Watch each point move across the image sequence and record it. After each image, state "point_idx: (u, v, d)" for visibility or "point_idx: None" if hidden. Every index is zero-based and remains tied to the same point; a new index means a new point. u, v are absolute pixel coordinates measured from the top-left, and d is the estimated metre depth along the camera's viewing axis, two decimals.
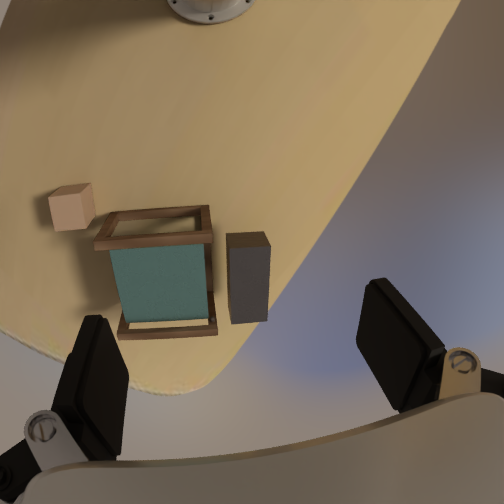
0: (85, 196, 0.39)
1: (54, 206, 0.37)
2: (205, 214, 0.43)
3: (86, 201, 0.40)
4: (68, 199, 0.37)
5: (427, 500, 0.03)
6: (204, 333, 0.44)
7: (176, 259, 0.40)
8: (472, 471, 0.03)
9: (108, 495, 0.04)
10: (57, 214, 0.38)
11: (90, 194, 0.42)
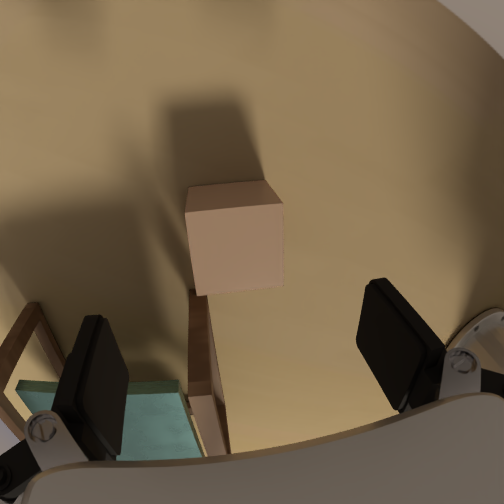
0: None
1: (256, 218, 0.17)
2: None
3: None
4: (271, 258, 0.18)
5: (427, 500, 0.03)
6: None
7: None
8: (472, 471, 0.03)
9: (108, 495, 0.04)
10: (235, 226, 0.17)
11: None
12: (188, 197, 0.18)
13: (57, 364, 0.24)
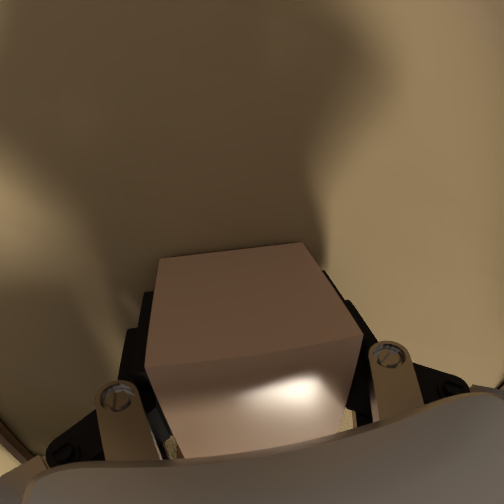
0: None
1: (304, 367, 0.07)
2: None
3: None
4: (323, 415, 0.08)
5: (427, 500, 0.03)
6: None
7: None
8: (472, 471, 0.03)
9: (108, 495, 0.04)
10: (259, 384, 0.07)
11: None
12: (156, 298, 0.09)
13: (18, 456, 0.15)
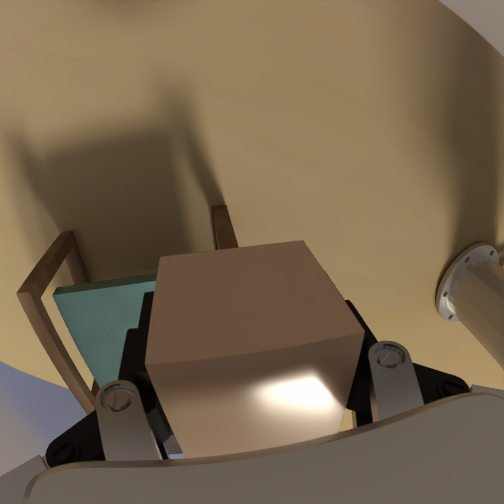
0: None
1: (305, 364, 0.07)
2: None
3: None
4: (324, 413, 0.08)
5: (427, 500, 0.03)
6: (88, 409, 0.23)
7: None
8: (472, 471, 0.03)
9: (108, 495, 0.04)
10: (260, 381, 0.07)
11: None
12: (156, 295, 0.09)
13: None
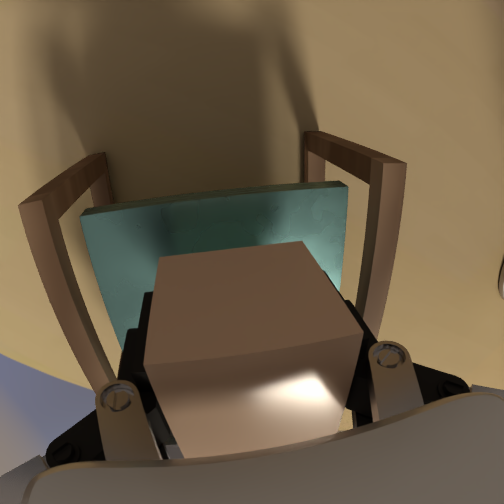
0: None
1: (303, 365, 0.07)
2: None
3: None
4: (323, 414, 0.08)
5: (427, 500, 0.03)
6: None
7: None
8: (472, 471, 0.03)
9: (108, 495, 0.04)
10: (258, 382, 0.07)
11: None
12: (155, 296, 0.09)
13: None
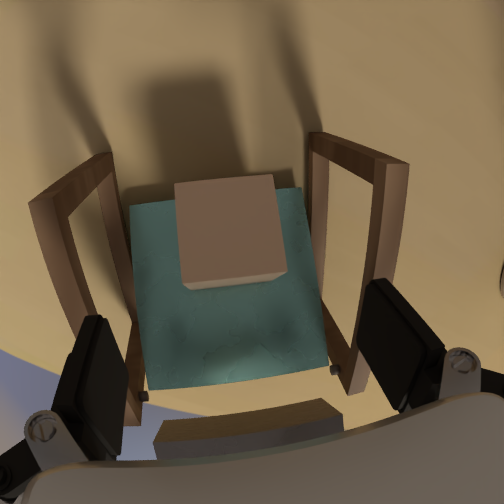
0: (260, 278, 0.17)
1: (246, 189, 0.16)
2: None
3: (246, 280, 0.17)
4: (268, 234, 0.16)
5: (427, 500, 0.03)
6: None
7: (293, 317, 0.20)
8: (472, 471, 0.03)
9: (108, 495, 0.04)
10: (225, 197, 0.16)
11: (248, 282, 0.19)
12: None
13: (118, 244, 0.21)
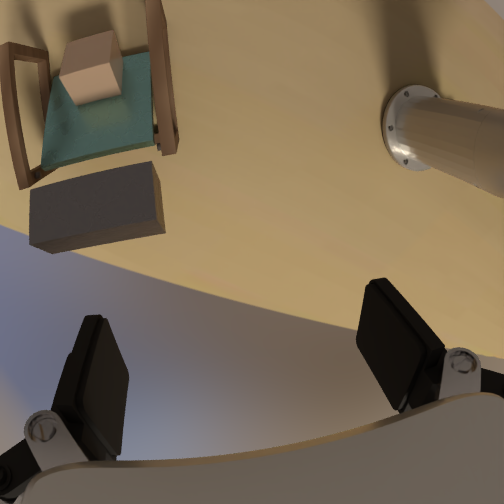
0: (103, 78, 0.24)
1: (99, 37, 0.23)
2: (177, 138, 0.31)
3: (96, 80, 0.24)
4: (104, 51, 0.23)
5: (427, 500, 0.03)
6: (19, 169, 0.23)
7: (131, 113, 0.27)
8: (472, 471, 0.03)
9: (108, 495, 0.04)
10: (88, 42, 0.23)
11: (105, 92, 0.26)
12: None
13: (46, 101, 0.28)
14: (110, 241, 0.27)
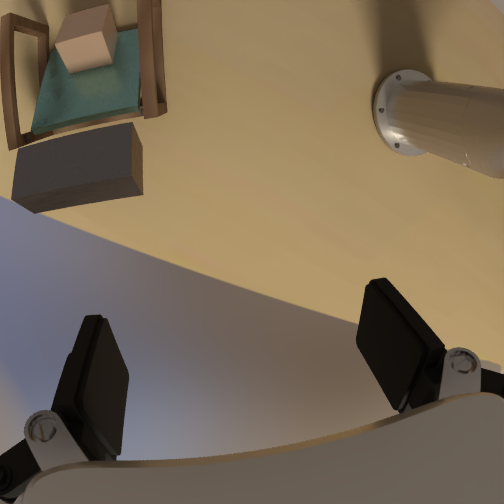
0: (95, 46, 0.24)
1: (95, 10, 0.23)
2: (163, 108, 0.31)
3: (89, 48, 0.24)
4: (98, 21, 0.22)
5: (427, 500, 0.03)
6: (9, 131, 0.23)
7: (120, 81, 0.27)
8: (472, 471, 0.03)
9: (108, 495, 0.04)
10: (84, 14, 0.22)
11: (97, 61, 0.26)
12: None
13: (43, 73, 0.28)
14: (89, 201, 0.26)
